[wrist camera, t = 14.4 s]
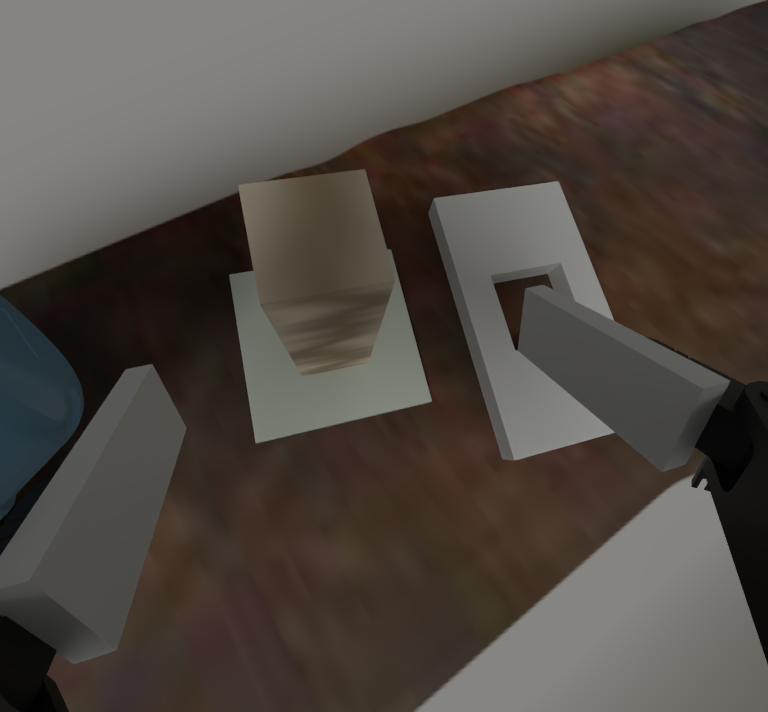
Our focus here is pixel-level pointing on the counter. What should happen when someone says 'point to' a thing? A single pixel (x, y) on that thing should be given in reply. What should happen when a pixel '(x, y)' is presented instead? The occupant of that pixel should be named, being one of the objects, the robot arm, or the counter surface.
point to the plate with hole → (484, 314)
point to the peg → (319, 266)
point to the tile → (328, 389)
